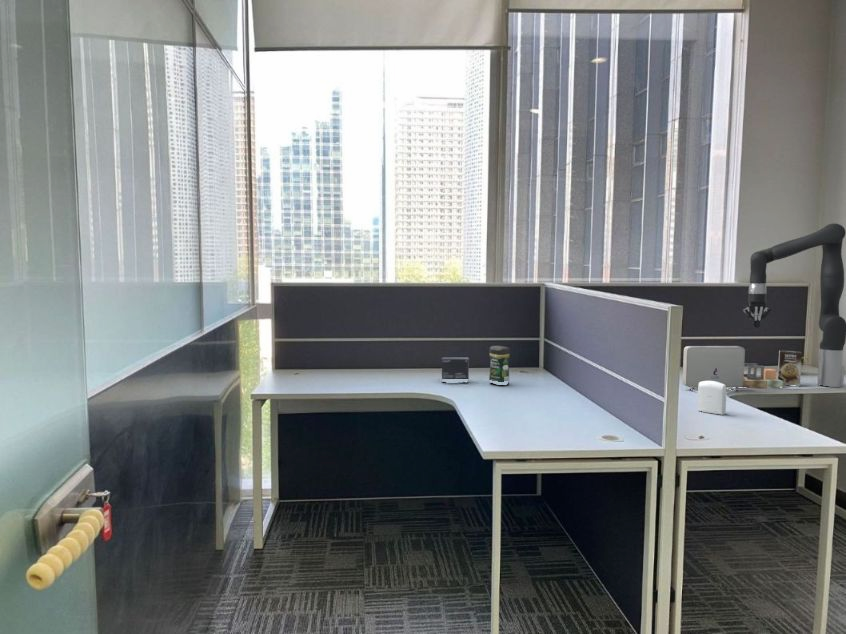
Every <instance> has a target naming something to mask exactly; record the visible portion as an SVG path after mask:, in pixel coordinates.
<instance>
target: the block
mask: <svg viewBox="0 0 846 634" xmlns="http://www.w3.org/2000/svg"><path fill="white" fill-rule="evenodd" d="M777 377H778V369H773V368H764V379H777Z"/></svg>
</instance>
